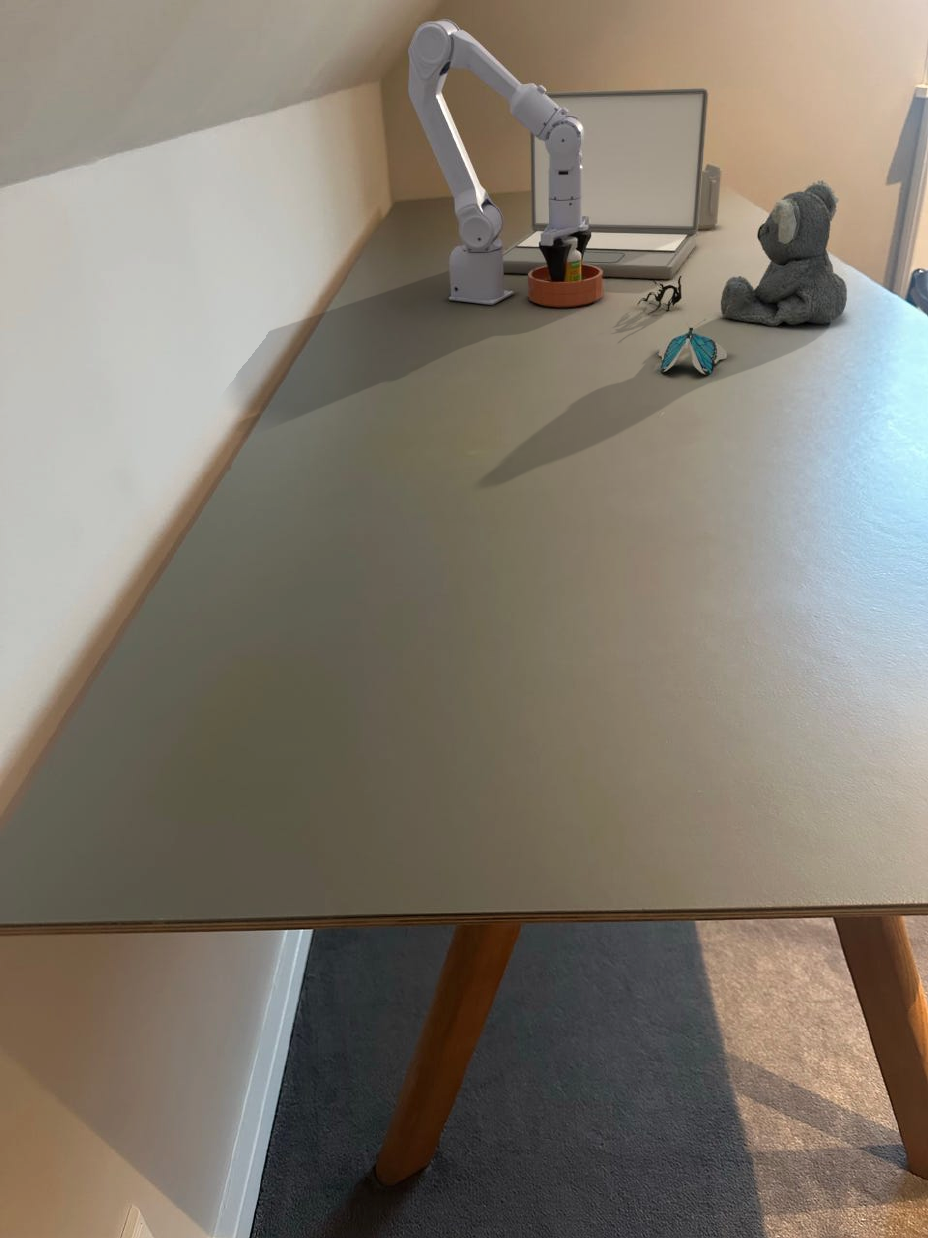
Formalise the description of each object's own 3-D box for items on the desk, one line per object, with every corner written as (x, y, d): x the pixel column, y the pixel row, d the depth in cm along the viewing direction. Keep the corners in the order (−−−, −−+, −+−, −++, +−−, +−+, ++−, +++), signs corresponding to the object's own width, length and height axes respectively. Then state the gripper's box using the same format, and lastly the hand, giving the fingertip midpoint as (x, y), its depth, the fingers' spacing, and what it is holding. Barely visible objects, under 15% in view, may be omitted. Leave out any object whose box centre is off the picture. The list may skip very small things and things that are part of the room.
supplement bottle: (572, 300, 166) (572, 243, 161) (545, 297, 169) (545, 241, 163) (585, 292, 170) (586, 236, 165) (559, 290, 172) (559, 234, 167)
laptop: (490, 273, 187) (483, 109, 171) (534, 241, 208) (531, 92, 192) (670, 281, 175) (681, 105, 159) (697, 245, 196) (709, 87, 180)
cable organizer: (699, 218, 217) (703, 161, 210) (723, 229, 207) (728, 169, 200) (672, 222, 216) (675, 164, 209) (694, 232, 206) (699, 172, 199)
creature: (637, 321, 159) (685, 311, 157) (632, 290, 157) (680, 279, 154) (640, 308, 166) (685, 297, 163) (634, 277, 163) (681, 266, 160)
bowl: (515, 304, 168) (514, 278, 166) (550, 285, 177) (549, 260, 175) (581, 312, 162) (582, 285, 160) (614, 292, 171) (614, 266, 169)
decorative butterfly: (647, 349, 132) (660, 311, 138) (647, 388, 137) (659, 350, 143) (721, 353, 129) (730, 314, 135) (718, 393, 134) (727, 353, 140)
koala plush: (767, 294, 164) (782, 172, 153) (866, 311, 153) (889, 181, 142) (711, 318, 155) (723, 190, 144) (812, 338, 144) (833, 201, 133)
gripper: (566, 206, 153) (566, 291, 161) (605, 190, 163) (603, 270, 171) (529, 204, 157) (530, 287, 164) (568, 188, 167) (568, 267, 174)
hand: (565, 279), depth 168 cm, fingers closed on supplement bottle, 5 cm apart
